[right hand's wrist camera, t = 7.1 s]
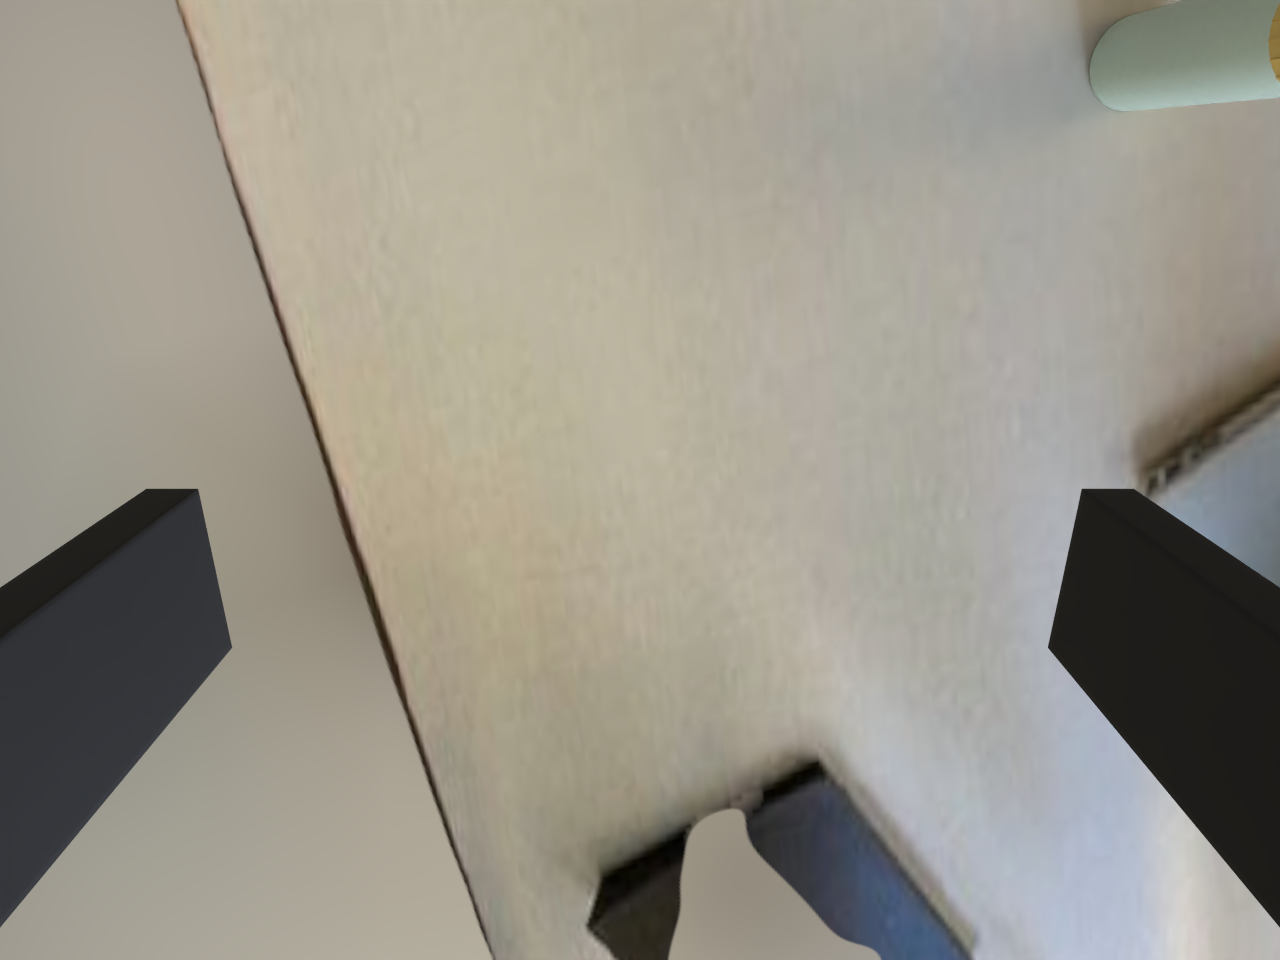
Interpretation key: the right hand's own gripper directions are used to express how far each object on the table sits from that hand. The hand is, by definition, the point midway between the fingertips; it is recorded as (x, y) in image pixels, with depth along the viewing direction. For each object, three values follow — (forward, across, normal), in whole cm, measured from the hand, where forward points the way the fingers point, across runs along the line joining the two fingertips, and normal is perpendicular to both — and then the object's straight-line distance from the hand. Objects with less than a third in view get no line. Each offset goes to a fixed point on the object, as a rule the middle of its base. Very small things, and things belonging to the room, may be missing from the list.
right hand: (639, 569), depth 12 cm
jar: (+41, +28, +11) cm, 50 cm away
